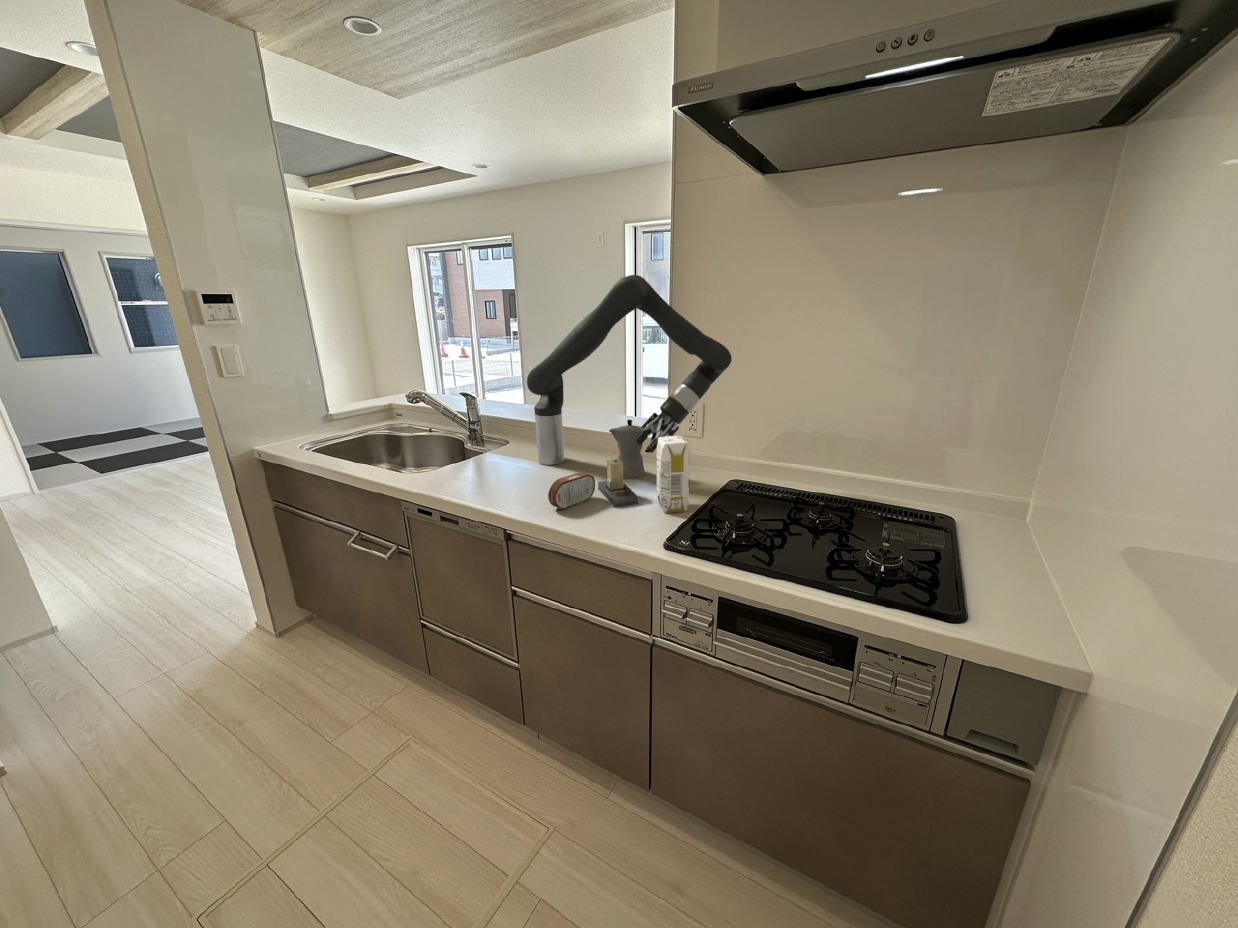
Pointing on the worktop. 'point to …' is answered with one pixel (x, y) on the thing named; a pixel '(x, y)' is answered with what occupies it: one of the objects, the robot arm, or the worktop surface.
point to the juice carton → (673, 473)
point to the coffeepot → (630, 449)
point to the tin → (571, 490)
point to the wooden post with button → (615, 475)
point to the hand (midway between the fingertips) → (643, 446)
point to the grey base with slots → (618, 495)
